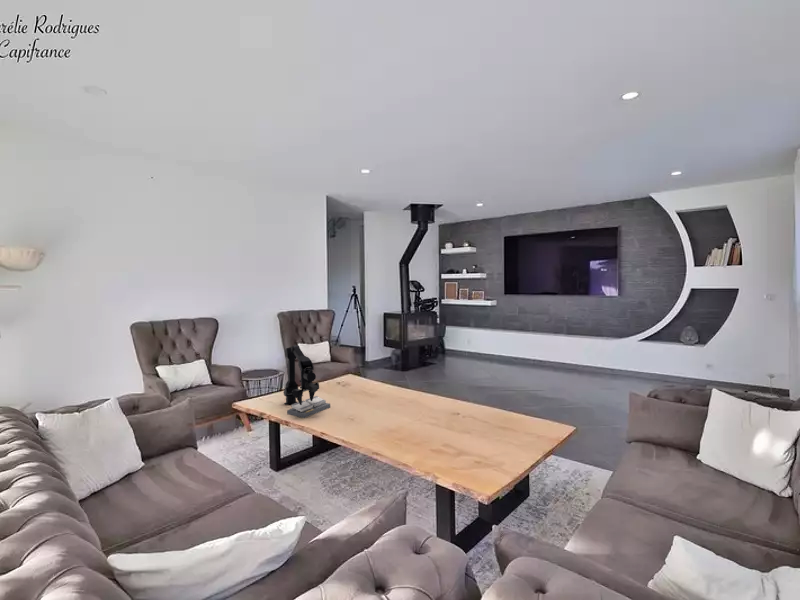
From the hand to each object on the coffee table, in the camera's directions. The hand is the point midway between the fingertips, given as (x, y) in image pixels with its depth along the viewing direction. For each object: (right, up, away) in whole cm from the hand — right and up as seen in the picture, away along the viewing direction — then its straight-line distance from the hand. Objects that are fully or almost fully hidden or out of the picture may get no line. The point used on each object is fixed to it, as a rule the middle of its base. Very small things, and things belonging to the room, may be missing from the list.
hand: (306, 402), depth 257 cm
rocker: (+3, -2, +12) cm, 13 cm away
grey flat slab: (-3, -3, +2) cm, 5 cm away
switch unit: (0, -7, +7) cm, 10 cm away
